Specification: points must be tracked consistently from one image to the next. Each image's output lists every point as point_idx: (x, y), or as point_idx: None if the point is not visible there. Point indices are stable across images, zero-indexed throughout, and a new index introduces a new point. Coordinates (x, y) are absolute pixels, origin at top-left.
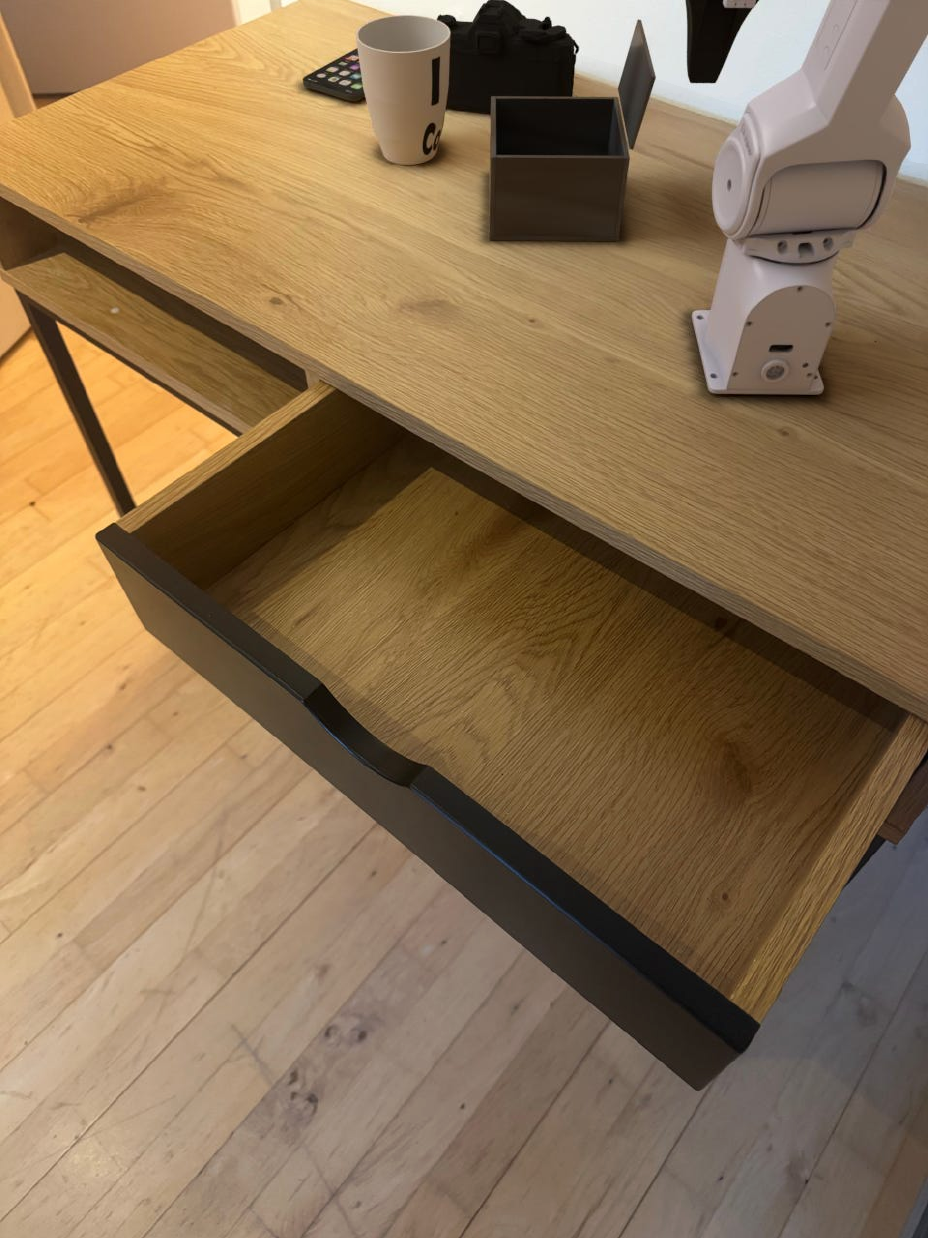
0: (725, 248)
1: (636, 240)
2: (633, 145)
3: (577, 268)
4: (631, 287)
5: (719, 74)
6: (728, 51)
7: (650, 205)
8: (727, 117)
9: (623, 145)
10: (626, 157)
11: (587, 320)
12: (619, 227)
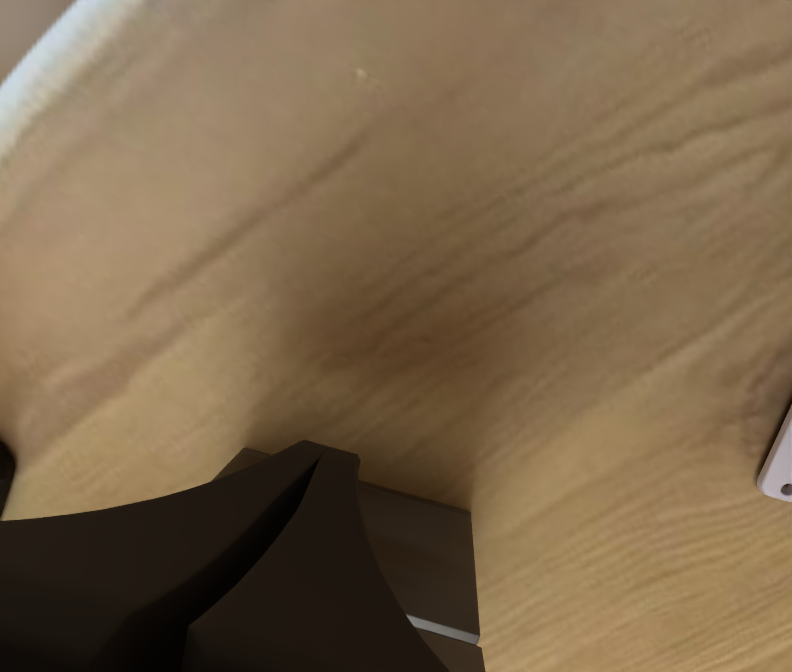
0: None
1: (475, 479)
2: (481, 655)
3: (535, 603)
4: (622, 543)
5: (356, 462)
6: (360, 503)
7: (360, 408)
8: (17, 95)
9: (415, 625)
10: (477, 642)
11: (691, 641)
12: (471, 528)
